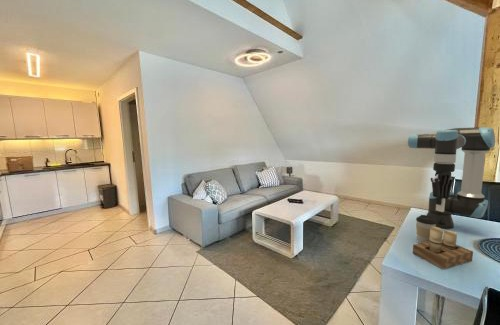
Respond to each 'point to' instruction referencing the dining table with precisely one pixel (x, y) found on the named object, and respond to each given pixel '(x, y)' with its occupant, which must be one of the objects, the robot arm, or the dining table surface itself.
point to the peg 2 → (449, 239)
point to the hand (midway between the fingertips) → (439, 210)
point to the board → (443, 255)
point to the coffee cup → (424, 227)
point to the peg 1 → (435, 239)
